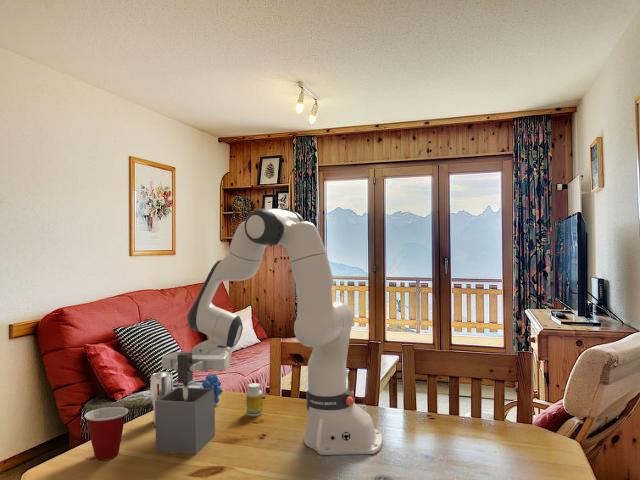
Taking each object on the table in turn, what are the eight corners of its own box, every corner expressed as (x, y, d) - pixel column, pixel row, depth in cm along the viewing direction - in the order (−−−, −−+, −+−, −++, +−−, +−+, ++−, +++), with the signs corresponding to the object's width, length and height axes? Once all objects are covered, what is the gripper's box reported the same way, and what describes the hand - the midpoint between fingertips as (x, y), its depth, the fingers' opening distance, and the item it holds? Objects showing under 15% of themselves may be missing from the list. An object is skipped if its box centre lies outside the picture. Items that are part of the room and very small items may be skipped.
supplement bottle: (246, 411, 149) (245, 383, 149) (262, 409, 150) (261, 381, 150) (247, 417, 144) (246, 388, 144) (263, 415, 145) (262, 386, 145)
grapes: (214, 414, 147) (214, 378, 147) (196, 413, 148) (196, 377, 148) (230, 402, 158) (229, 369, 158) (213, 401, 160) (212, 368, 160)
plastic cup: (138, 449, 123) (137, 406, 123) (107, 468, 113) (106, 421, 113) (108, 444, 126) (107, 402, 127) (75, 461, 116) (74, 416, 116)
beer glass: (159, 426, 138) (158, 379, 138) (146, 421, 142) (145, 375, 142) (178, 419, 143) (177, 373, 143) (165, 414, 148) (164, 370, 148)
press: (215, 435, 131) (214, 388, 131) (196, 454, 119) (195, 403, 119) (178, 433, 133) (177, 387, 133) (155, 451, 121) (154, 401, 121)
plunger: (208, 424, 129) (206, 350, 130) (193, 438, 120) (191, 358, 121) (179, 422, 131) (178, 349, 132) (163, 436, 122) (161, 357, 122)
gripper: (175, 345, 141) (150, 356, 127) (235, 347, 137) (216, 358, 123) (175, 365, 141) (150, 378, 127) (235, 367, 137) (216, 381, 123)
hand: (183, 368), depth 125 cm, fingers closed on plunger, 3 cm apart
